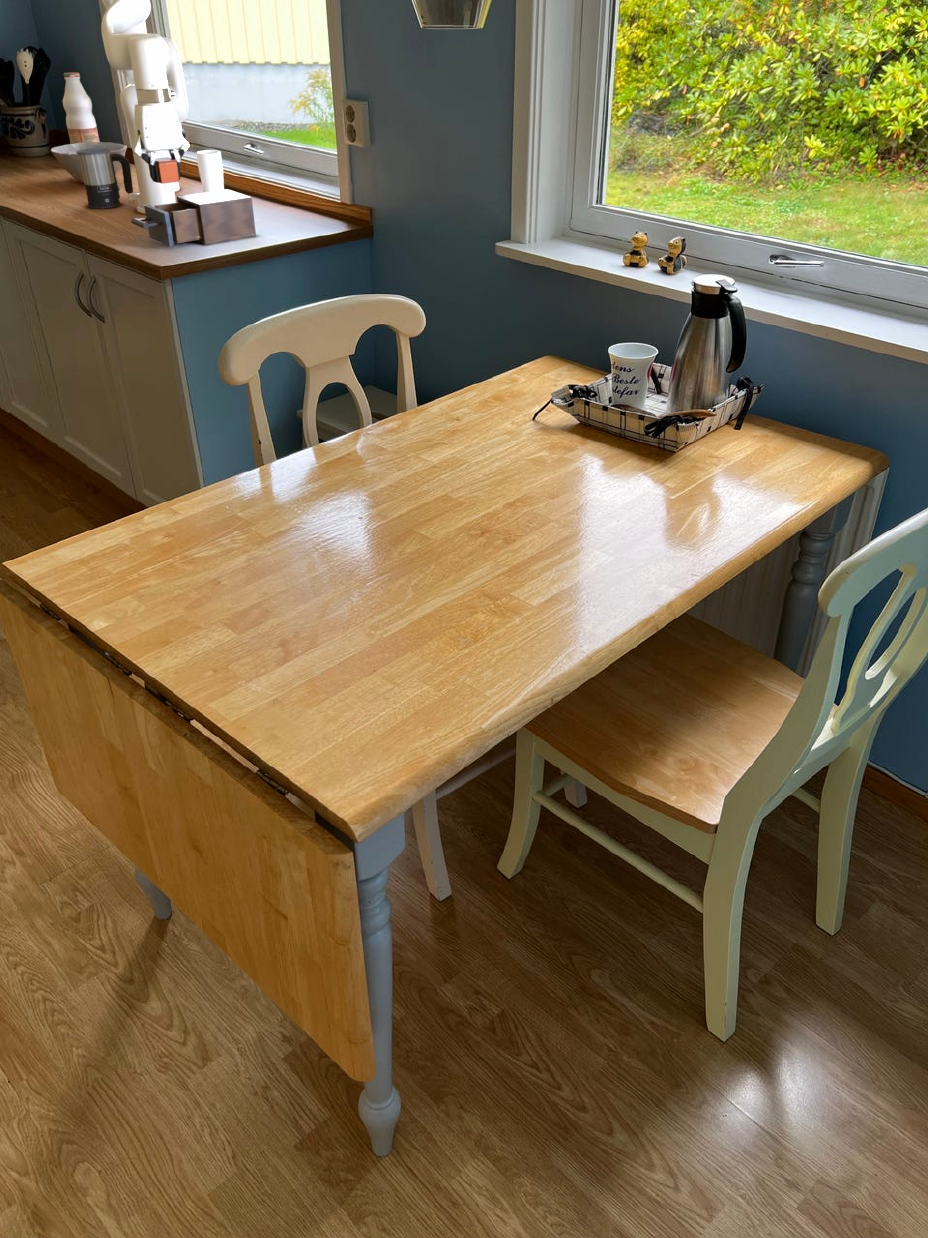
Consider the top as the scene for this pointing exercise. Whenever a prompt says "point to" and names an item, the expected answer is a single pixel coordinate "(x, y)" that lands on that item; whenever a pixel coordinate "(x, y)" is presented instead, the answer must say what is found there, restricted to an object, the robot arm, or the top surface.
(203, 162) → the white cylinder
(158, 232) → the drawer
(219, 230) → the cabinet
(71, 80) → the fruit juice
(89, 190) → the milk frother
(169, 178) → the orange-red cube
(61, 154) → the ceramic bowl
